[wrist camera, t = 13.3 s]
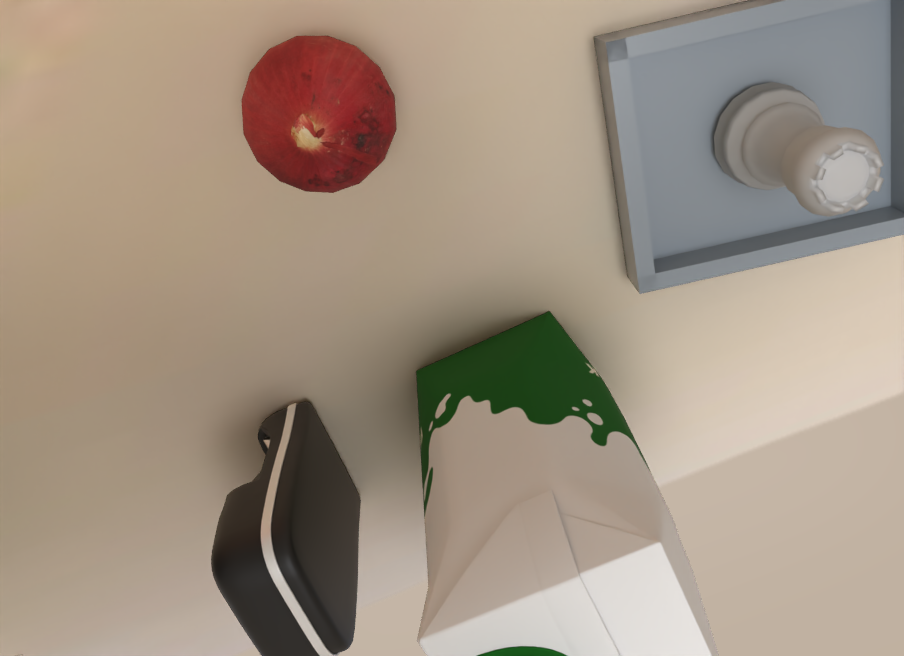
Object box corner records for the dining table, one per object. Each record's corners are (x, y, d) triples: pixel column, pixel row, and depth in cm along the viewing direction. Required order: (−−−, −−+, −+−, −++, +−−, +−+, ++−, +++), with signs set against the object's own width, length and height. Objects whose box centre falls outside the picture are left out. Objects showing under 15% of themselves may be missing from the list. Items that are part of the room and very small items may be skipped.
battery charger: (237, 418, 42) (186, 574, 32) (308, 391, 42) (280, 540, 32) (297, 524, 45) (270, 700, 35) (365, 500, 45) (357, 670, 34)
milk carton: (390, 362, 42) (390, 691, 23) (562, 285, 41) (703, 566, 22) (465, 497, 45) (516, 873, 27) (626, 428, 44) (792, 773, 26)
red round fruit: (415, 60, 36) (421, 91, 29) (368, 186, 38) (362, 244, 31) (280, 4, 35) (251, 21, 27) (239, 137, 37) (201, 186, 30)
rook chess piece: (742, 63, 36) (831, 94, 29) (830, 104, 37) (937, 143, 30) (691, 161, 38) (763, 214, 31) (777, 197, 39) (866, 257, 32)
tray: (627, 276, 41) (639, 293, 39) (593, 36, 36) (605, 42, 34) (901, 214, 40) (928, 229, 38) (902, -36, 36) (932, -35, 34)
